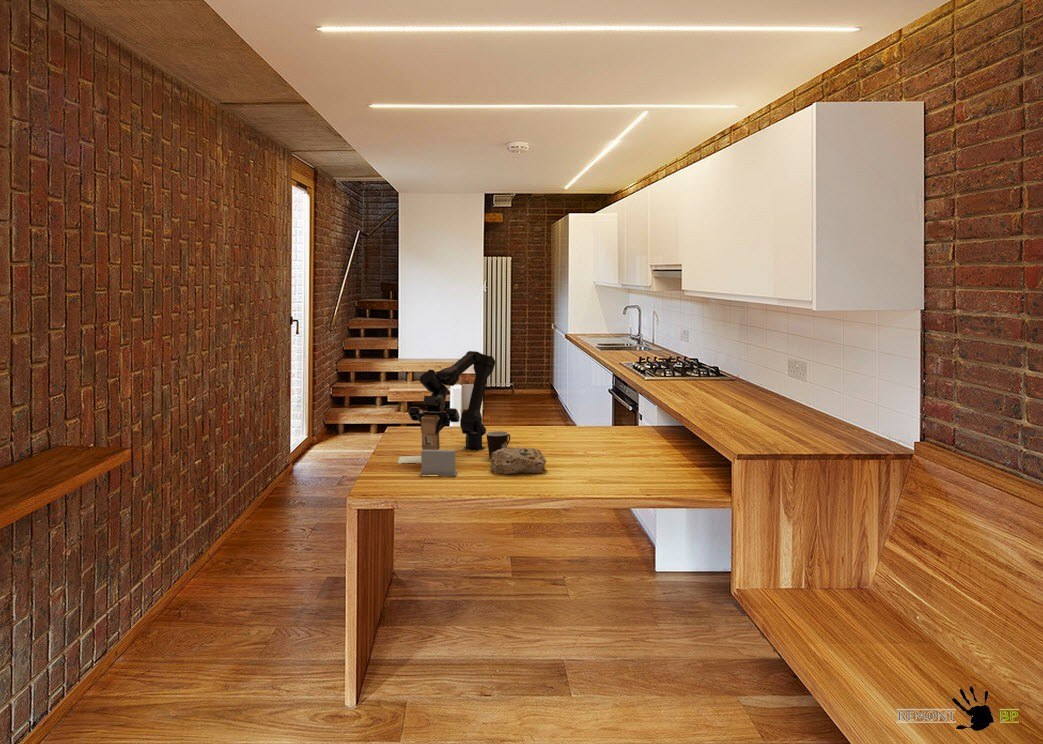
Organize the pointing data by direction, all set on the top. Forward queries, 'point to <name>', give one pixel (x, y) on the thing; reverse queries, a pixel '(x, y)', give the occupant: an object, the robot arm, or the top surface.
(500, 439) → the coffee mug
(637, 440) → the top surface
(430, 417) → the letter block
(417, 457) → the mat
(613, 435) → the top surface
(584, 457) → the top surface
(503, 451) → the rock
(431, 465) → the screen
